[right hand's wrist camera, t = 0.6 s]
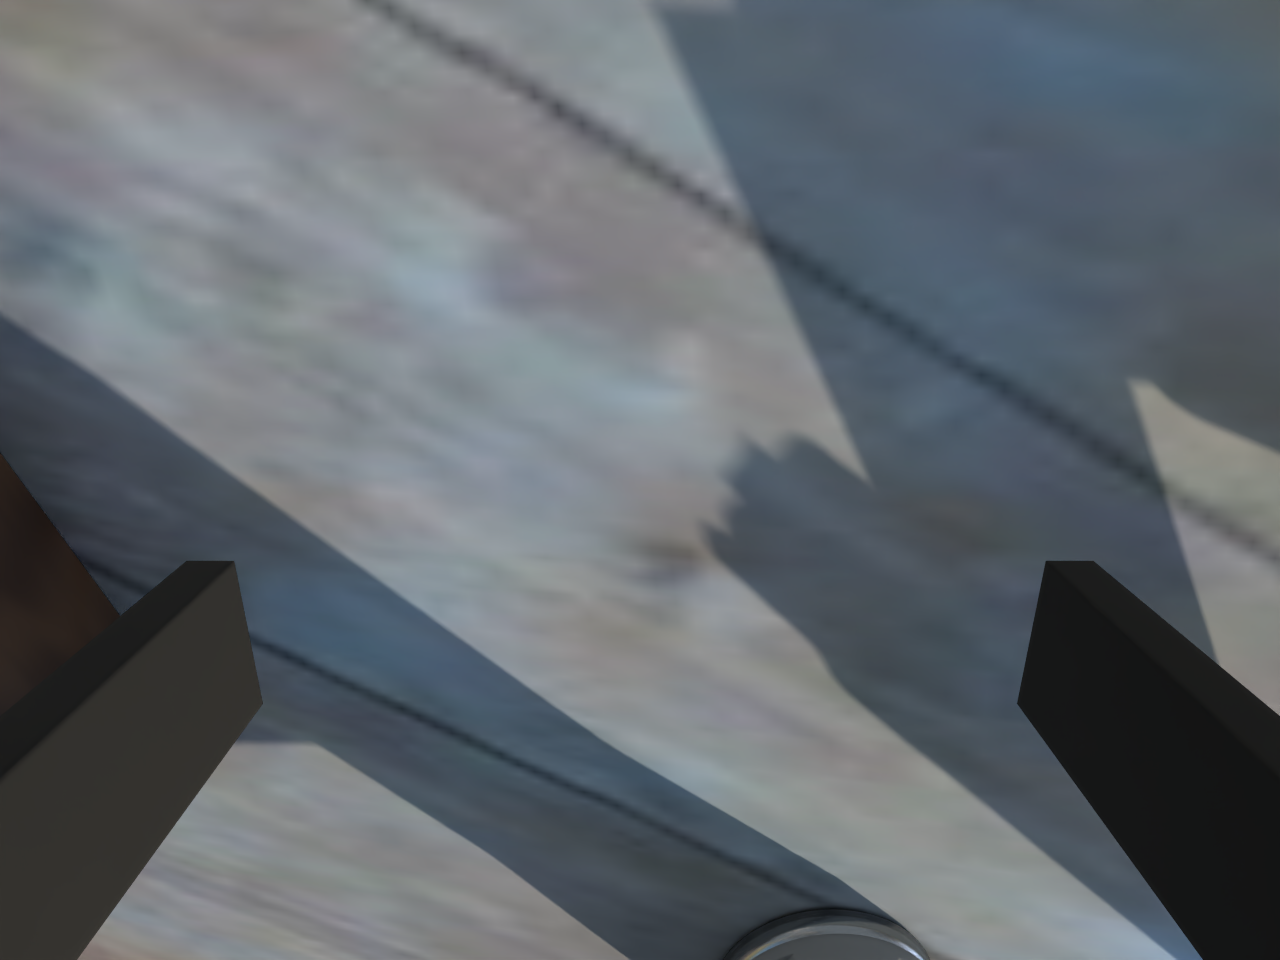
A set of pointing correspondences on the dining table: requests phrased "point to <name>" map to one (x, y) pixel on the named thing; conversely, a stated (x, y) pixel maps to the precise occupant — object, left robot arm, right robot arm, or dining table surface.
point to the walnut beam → (40, 595)
